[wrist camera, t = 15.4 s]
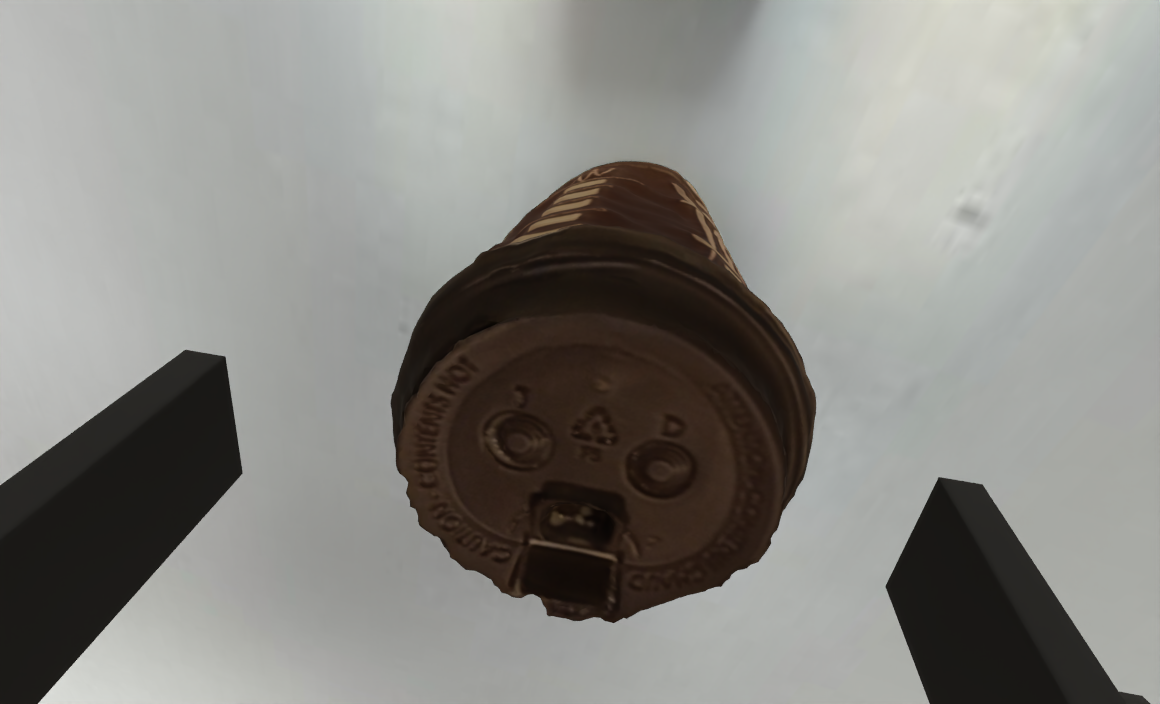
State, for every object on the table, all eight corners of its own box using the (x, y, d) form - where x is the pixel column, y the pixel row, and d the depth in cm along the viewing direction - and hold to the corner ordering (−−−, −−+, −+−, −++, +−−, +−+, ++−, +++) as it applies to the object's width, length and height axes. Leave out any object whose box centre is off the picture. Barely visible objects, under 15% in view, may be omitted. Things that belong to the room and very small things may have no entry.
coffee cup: (608, 397, 26) (559, 699, 15) (456, 242, 24) (263, 460, 13) (798, 263, 23) (923, 523, 12) (642, 68, 21) (606, 152, 9)
